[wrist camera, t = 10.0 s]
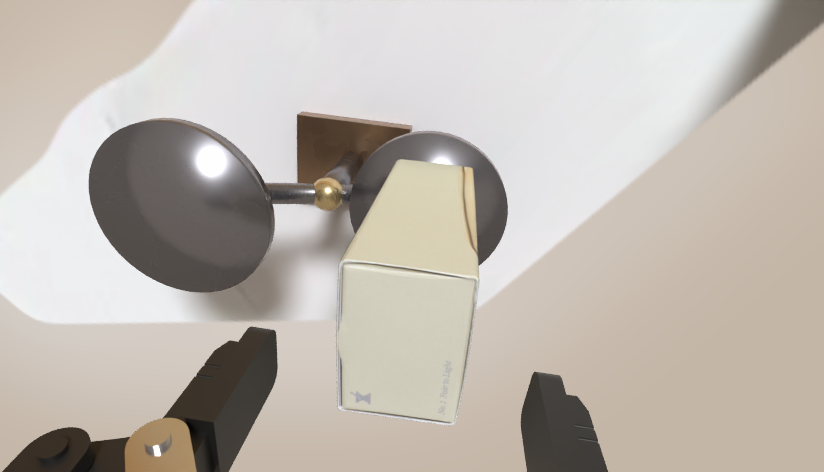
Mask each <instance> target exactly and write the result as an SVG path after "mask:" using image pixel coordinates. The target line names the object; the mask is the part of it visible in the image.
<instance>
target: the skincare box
mask: <svg viewBox="0 0 824 472" xmlns="http://www.w3.org/2000/svg"><path fill="white" fill-rule="evenodd" d="M478 288H479V269H478V250H477V229H476V209H475V190H474V176H473V169H472V168H471V167H463V166H456V165H449V164H440V163H431V162H423V161H413V160H404V159H400V160H397V161H396V163H395V165H394V167H393V169H392V170H391V172H390V174H389V176H388V178H387V179H386V181H385V183H384V185H383V186H382V188H381V190H380V192H379V193H378V195H377V197H376V199H375V201H374V202H373V204H372V206H371V208H370V210H369V211H368V213H367V215H366V217H365V219H364V220H363V222H362V224H361V226H360V227H359V229H358V231H357V233H356V234H355V236H354V238H353V240H352V241H351V243H350V245H349V247H348V249H347V250H346V252H345V254H344V256H343V257H342V259H341V261H340V263H339V269H338V292H337V330H336V331H337V332H336V347H337V407H338V409H339V410H342V411H351V412H357V413H363V414H371V415H376V416H383V417H390V418H398V419H404V420H410V421H419V422H427V423H434V424H442V425H454V424H455V422H456V419H457V415H458V411H459V406H460V402H461V398H462V392H463V387H464V381H465V376H466V370H467V365H468V358H469V352H470V346H471V340H472V332H473V326H474V318H475V311H476V304H477V295H478Z"/></svg>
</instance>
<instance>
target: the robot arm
mask: <svg viewBox="0 0 824 472" xmlns="http://www.w3.org/2000/svg"><path fill="white" fill-rule="evenodd" d="M276 344H277V343H276V332H275V331H274V330H270V329H263V328H257V327H250V328H248V329H247V331H246V332H245V333H244V335H243V336H242V338H241V339H240V340H239V342H235V341H228V342H227V343H225V344H224V345H222V346H221V347H220V348H218V349H216V350H215V351H214V352H213V353H212V355H211V356H210V357H209V359H208V360H207V361H206V363H205V365H204V366H203V367H202V368H201V369H200V370H199V372H198V373H197V376H196V377H194V378H193V380H192V381H191V382H190V384H189V385H188V386H187V388H186V389H185V390H184V391H183V393H182V394H181V395H180V397H179V398H178V399H177V401H176V402H175V403H174V405H173V406H172V407H171V409H170V410H169V411H168V412H167V414H166V415H165V416H164V417H163V418H162V419H158V420H154V421H152V422H149V423H147V424H145V425H144V426H142V427H140V428H139V429H138V430H137V431H135V432H134V434H132V436H131V437H126V438H120V439H112V440H104V441H95V442H91V441H90V437H89V435H88V433H87V432H86V431H84V430H82V429H80V428H73V427H69V428H62V429H57V430H55V431H51V432H49V433H46V434H44V435H42V436H40V437H39V438H37V439H36V440H34V441H33V442H31V443H30V444H29V445H28V446H27V447H26V448H25V449H24V450H23V451H22V452H21V453H20V454H19V455H18V456H17V457H16V458H15V459H14V460H13V461H12V462H11V463H10V464H9V465H8V467H6V468H5V469H4V470H3V472H229V470H230V468H231V466H232V464H233V462H234V460H235V458H236V456H237V454H238V453H239V451H240V449H241V447H242V445H243V443H244V441H245V439H246V437H247V435H248V433H249V432H250V430H251V428H252V426H253V424H254V422H255V420H256V418H257V416H258V414H259V413H260V411H261V409H262V407H263V405H264V403H265V401H266V399H267V397H268V395H269V394H270V392H271V390H272V388H273V385H274V383H275V379H276V375H277V345H276ZM593 428H594V427H593V424H592V420H591V417H590V414H589V411H588V410H587V409H586V407H585V406H584V405H583V404H582V402H581V401H580V400H579V398H578V397H577V396H572V395H566V392H565V389H564V385H563V381H562V378H561V377H560V376H558V375H553V374H546V373H539V372H534V373H533V375H532V378H531V382H530V385H529V388H528V391H527V395H526V398H525V401H524V405H523V408H522V414H521V431H522V438H523V445H524V453H525V460H526V466H527V472H608V470H607V467H606V464H605V461H604V458H603V455H602V452H601V448H600V445H599V444H598V439H597V436H596V433H595V431H594V429H593Z"/></svg>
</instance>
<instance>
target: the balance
mask: <svg viewBox="0 0 824 472" xmlns="http://www.w3.org/2000/svg"><path fill="white" fill-rule="evenodd" d="M400 159H404V160H413V161H423V162H431V163H440V164H449V165H456V166H463V167H471V168H472V169H473V176H474V190H475V209H476V229H477V250H478V266H479V265H480V264H482V263H483V262H484V261H485V260H486V259H487V258H488V257H489V256H490V255H491V254H492V252H493V251H494V250H495V248H496V247H497V245H498V244H499V242H500V240H501V238H502V235H503V233H504V230H505V226H506V222H507V215H508V204H507V197H506V193H505V189H504V186H503V182H502V179H501V177H500V175H499V173H498V171H497V169H496V168H495V166H494V165H493V163H492V162H491V161H490V159H489V158H488V157H487V156H486V155H485V154H484V153H483V152H482V151H481V150H480V149H478V148H477V147H476V146H474V145H473V144H471V143H470V142H468V141H466V140H464V139H462V138H460V137H457V136H454V135H451V134H448V133H443V132H437V131H419V132H413V133H412V126H410V125H402V124H394V123H386V122H379V121H371V120H363V119H355V118H348V117H340V116H332V115H324V114H317V113H309V112H301V113H299V114H297V166H298V183H264V181H263V179H262V177H261V175H260V174H259V172H258V171H257V169H256V168H255V166H254V165H253V164H252V163H251V161H250V160H249V159H248V158H247V157H246V155H245V154H243V153H242V152H241V151H240V150H239V149H238V148H237V147H236V146H235V145H234V144H232V143H231V142H230V141H228V140H227V139H226V138H224V137H223V136H221V135H220V134H218V133H216V132H215V131H213V130H211V129H208V128H206V127H204V126H202V125H199V124H196V123H193V122H190V121H186V120H181V119H173V118H157V119H150V120H146V121H142V122H138V123H135V124H132V125H129V126H127V127H124V128H122V129H120V130H118V131H117V132H115V133H113V134H112V135H111V136H110V137H108V138H107V139H106V140H105V141H104V142H103V144H102V145H101V146H100V148H99V149H98V150H97V152H96V154H95V156H94V158H93V161H92V165H91V168H90V174H89V194H90V201H91V205H92V208H93V211H94V214H95V217H96V219H97V221H98V224H99V226H100V227H101V229H102V231H103V233H104V235H105V236H106V237H107V239H108V240H109V242H110V243H111V244H112V246H113V247H114V248H115V249H116V250H117V251H118V253H119V254H120V255H121V256H122V257H123V258H124V259H125V260H126V261H127V262H129V263H130V264H131V265H132V266H134V267H135V268H136V269H137V270H139V271H140V272H142V273H143V274H145V275H146V276H148V277H150V278H152V279H154V280H156V281H158V282H160V283H162V284H165V285H167V286H170V287H173V288H176V289H180V290H185V291H190V292H214V291H221V290H224V289H227V288H230V287H233V286H235V285H237V284H239V283H240V282H242V281H243V280H245V279H246V278H247V277H248V276H250V275H251V274H252V273H253V272H254V271H255V269H256V268H257V267H258V266H259V265H260V263H261V262H262V261H263V259H264V258H265V257H266V255H267V253H268V251H269V249H270V246H271V243H272V241H273V235H274V226H275V218H274V209H273V205H272V204H315V205H316V206H317V207H318V208H320V209H322V210H325V211H331V210H335V209H337V208H338V207H339V206H340V205H341V204H349V205H350V218H351V223H352V226H353V229H354V232H355V234H356V233H357V231H358V229H359V227H360V226H361V224H362V222H363V220H364V219H365V217H366V215H367V213H368V211H369V210H370V208H371V206H372V204H373V202H374V201H375V199H376V197H377V195H378V193H379V192H380V190H381V188H382V186H383V185H384V183H385V181H386V179H387V178H388V176H389V174H390V172H391V170H392V169H393V167H394V165H395V163H396V161H397V160H400Z"/></svg>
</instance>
